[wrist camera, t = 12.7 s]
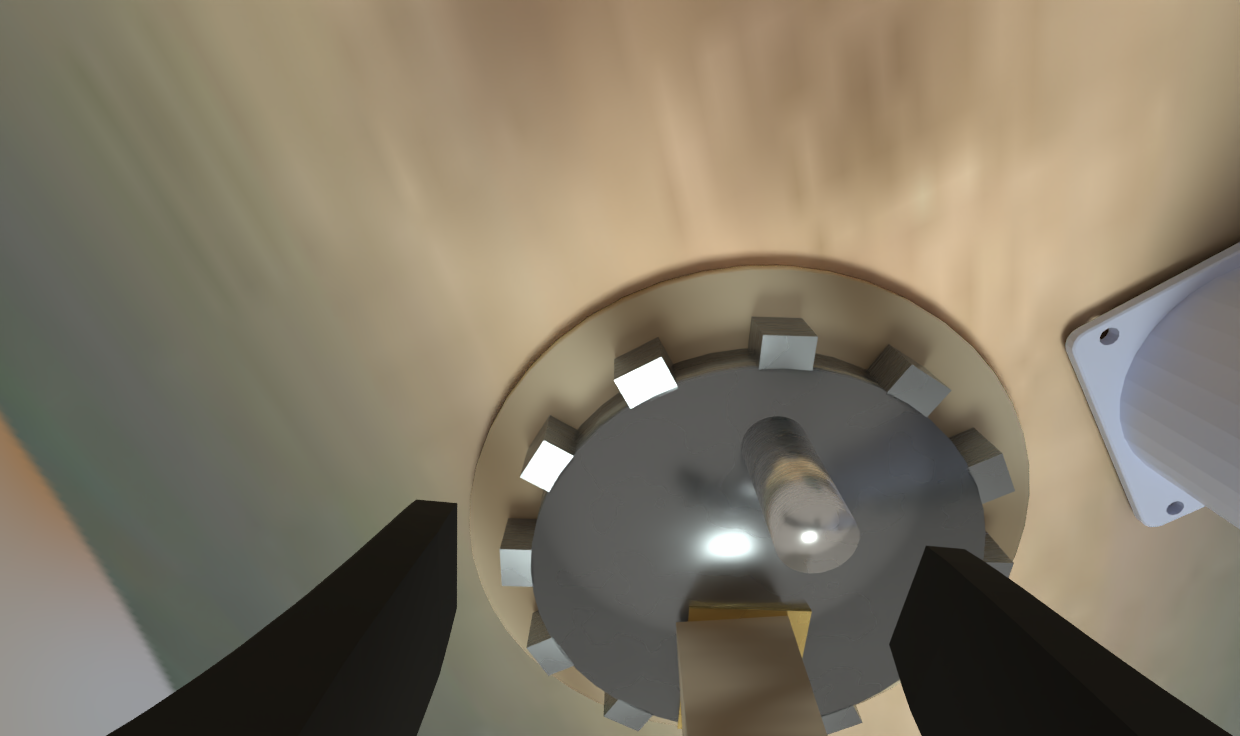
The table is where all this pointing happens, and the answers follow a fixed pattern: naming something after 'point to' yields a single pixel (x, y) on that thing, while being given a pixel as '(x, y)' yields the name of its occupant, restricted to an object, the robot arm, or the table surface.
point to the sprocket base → (714, 322)
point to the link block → (744, 679)
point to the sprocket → (745, 515)
